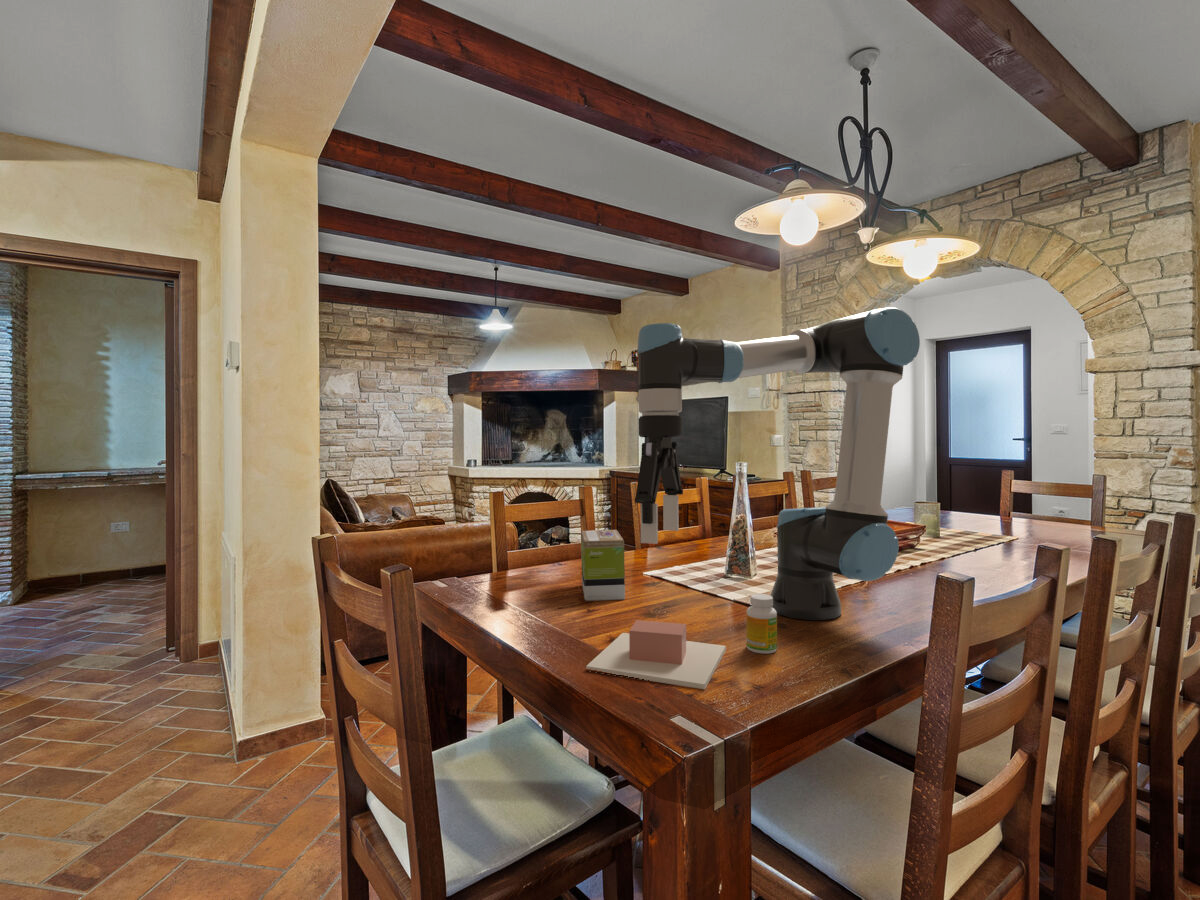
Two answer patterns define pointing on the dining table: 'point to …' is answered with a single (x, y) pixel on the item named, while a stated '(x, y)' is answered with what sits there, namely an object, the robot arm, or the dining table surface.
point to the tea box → (602, 565)
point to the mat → (661, 664)
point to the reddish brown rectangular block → (657, 642)
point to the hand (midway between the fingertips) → (660, 536)
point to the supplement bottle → (761, 625)
